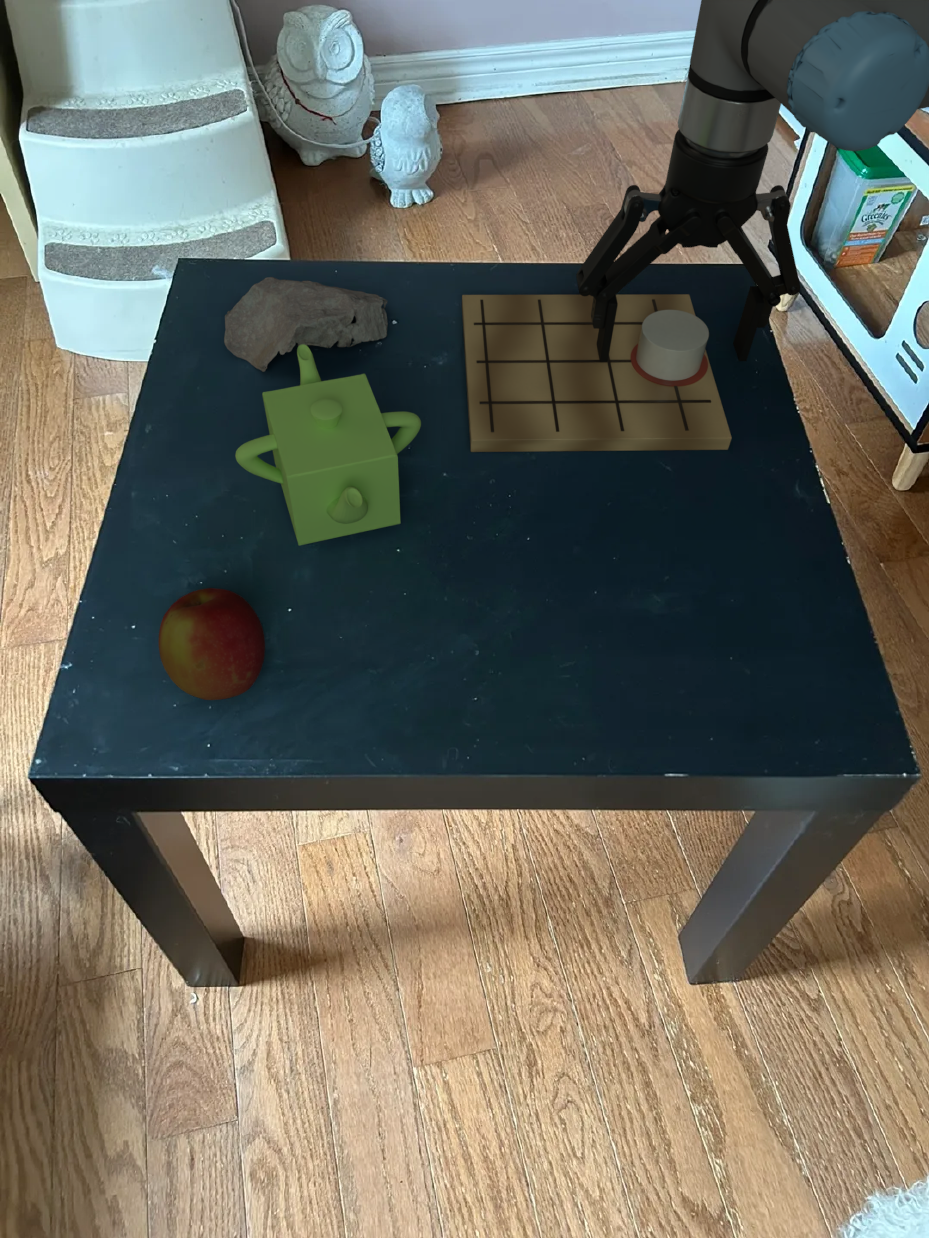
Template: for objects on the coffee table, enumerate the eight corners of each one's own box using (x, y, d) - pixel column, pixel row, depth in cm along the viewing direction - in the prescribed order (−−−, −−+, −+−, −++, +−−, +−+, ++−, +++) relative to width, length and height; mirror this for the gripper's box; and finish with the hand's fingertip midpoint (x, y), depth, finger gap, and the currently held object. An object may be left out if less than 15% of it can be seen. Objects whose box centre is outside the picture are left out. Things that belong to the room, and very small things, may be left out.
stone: (334, 426, 95) (392, 345, 104) (356, 363, 88) (416, 283, 98) (195, 351, 94) (266, 276, 103) (207, 281, 87) (281, 208, 97)
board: (686, 306, 103) (689, 293, 102) (727, 450, 90) (732, 436, 89) (461, 307, 102) (462, 293, 101) (470, 452, 89) (471, 439, 87)
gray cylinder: (694, 339, 97) (702, 309, 94) (706, 380, 93) (715, 351, 90) (631, 339, 97) (637, 309, 94) (641, 381, 93) (647, 351, 90)
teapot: (311, 425, 90) (299, 330, 82) (442, 468, 87) (443, 374, 79) (224, 536, 82) (200, 443, 73) (365, 587, 79) (357, 496, 70)
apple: (286, 640, 76) (272, 575, 69) (253, 727, 71) (235, 667, 64) (193, 624, 76) (171, 558, 70) (154, 709, 72) (127, 648, 65)
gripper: (862, 113, 80) (787, 328, 97) (563, 111, 79) (540, 329, 96) (889, 160, 75) (806, 377, 92) (573, 159, 74) (547, 378, 91)
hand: (670, 353), depth 94 cm, fingers open, 13 cm apart
